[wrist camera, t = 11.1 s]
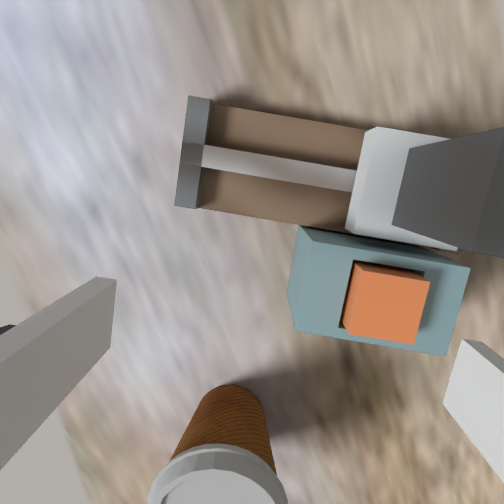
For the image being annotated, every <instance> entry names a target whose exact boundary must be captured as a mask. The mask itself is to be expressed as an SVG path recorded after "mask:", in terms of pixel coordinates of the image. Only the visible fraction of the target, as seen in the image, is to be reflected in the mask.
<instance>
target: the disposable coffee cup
mask: <svg viewBox="0 0 504 504" xmlns="http://www.w3.org/2000/svg"><path fill="white" fill-rule="evenodd" d="M274 464H275V463H274V460H273V455H272V450H271V446H270V441H269V436H268V431H267V427H266V422H265V417H264V411H263V408H262V405H261V403H260V401H259V400H258V398H257V397H256V396H255V395H254V394H253V393H252V392H250V391H249V390H247V389H245V388H243V387H239V386H235V385H224V386H219V387H217V388H215V389H213V390H211V391H209V392H208V393H207V394H206V395H205V396H204V397H203V398H202V400H201V402H200V404H199V406H198V408H197V410H196V412H195V413H194V415H193V417H192V419H191V421H190V423H189V425H188V427H187V429H186V431H185V433H184V434H183V436H182V438H181V440H180V442H179V444H178V446H177V448H176V450H175V452H174V454H173V456H172V457H171V460H170V462H169V463H168V464H167V465H166V466H164V467H163V468H162V469H161V470H160V472H159V473H158V475H157V476H156V478H155V479H154V481H153V483H152V485H151V487H150V490H149V493H148V499H147V504H288V500H287V497H286V494H285V491H284V488H283V485H282V483H281V482H280V480H279V479H278V477H277V474H276V468H275V465H274Z"/></svg>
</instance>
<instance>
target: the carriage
mask: <svg viewBox="0 0 504 504" xmlns="http://www.w3.org/2000/svg"><path fill="white" fill-rule="evenodd" d="M345 229H347V230H348V231H350V232H352V233H354V234H358V235H364V236H370V237H376V238H382V239H388V240H394V241H400V242H405V243H411V244H417V245H423V246H429V247H435V248H441V249H447V250H453V251H457V248H460V249H463V250H466V251H469V252H473V253H479V254H485V255H490V256H496V257H502V258H504V128H499V129H495V130H490V131H486V132H481V133H477V134H472V135H467V136H463V137H458V138H454V139H449V138H443V137H437V136H431V135H425V134H419V133H413V132H408V131H402V130H396V129H390V128H384V127H378V126H377V127H375V128H373V129H371V130H369V131H367V132H365V135H364V140H363V145H362V149H361V154H360V159H359V163H358V168H357V173H356V177H355V182H354V187H353V192H352V196H351V201H350V206H349V210H348V215H347V220H346V224H345Z"/></svg>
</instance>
